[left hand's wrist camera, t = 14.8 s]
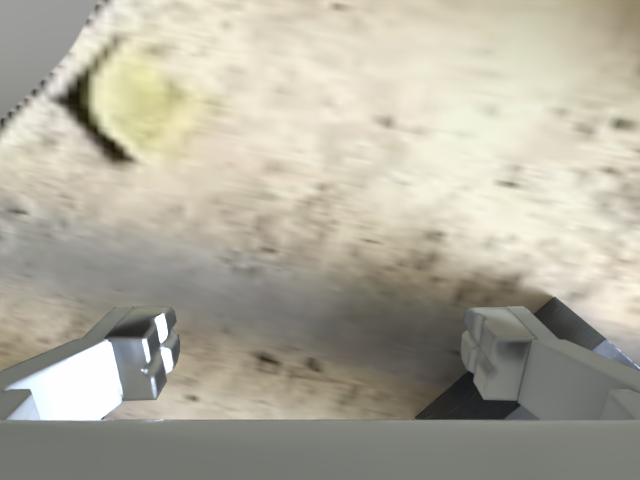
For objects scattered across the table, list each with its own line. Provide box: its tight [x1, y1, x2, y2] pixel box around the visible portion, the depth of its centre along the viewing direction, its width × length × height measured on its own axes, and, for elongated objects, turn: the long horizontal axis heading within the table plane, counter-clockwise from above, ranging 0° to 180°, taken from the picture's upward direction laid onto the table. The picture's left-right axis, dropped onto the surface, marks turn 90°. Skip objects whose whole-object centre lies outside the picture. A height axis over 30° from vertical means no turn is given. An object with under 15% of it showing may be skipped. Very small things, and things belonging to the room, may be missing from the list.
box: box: [415, 297, 640, 420], centre depth 44 cm, size 24×6×8 cm, turn 141°
